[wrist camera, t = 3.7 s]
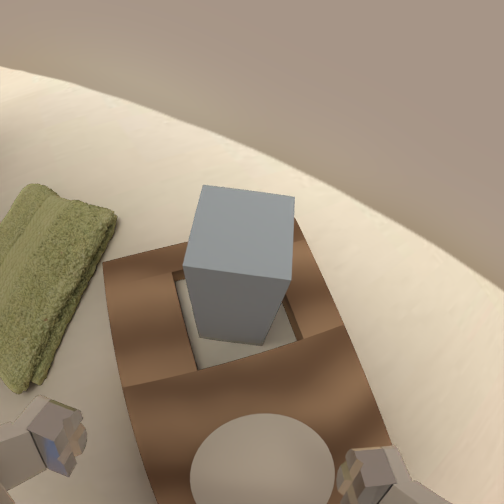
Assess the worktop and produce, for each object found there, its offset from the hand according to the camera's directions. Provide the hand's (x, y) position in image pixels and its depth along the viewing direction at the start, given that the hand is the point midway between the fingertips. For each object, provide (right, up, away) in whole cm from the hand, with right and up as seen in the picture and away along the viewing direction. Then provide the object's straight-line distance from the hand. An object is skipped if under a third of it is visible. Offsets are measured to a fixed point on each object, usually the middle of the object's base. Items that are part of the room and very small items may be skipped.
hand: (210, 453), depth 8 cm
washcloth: (-19, +3, +16) cm, 25 cm away
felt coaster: (+2, -8, +8) cm, 12 cm away
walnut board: (+1, -4, +13) cm, 13 cm away
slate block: (0, +1, +16) cm, 16 cm away
